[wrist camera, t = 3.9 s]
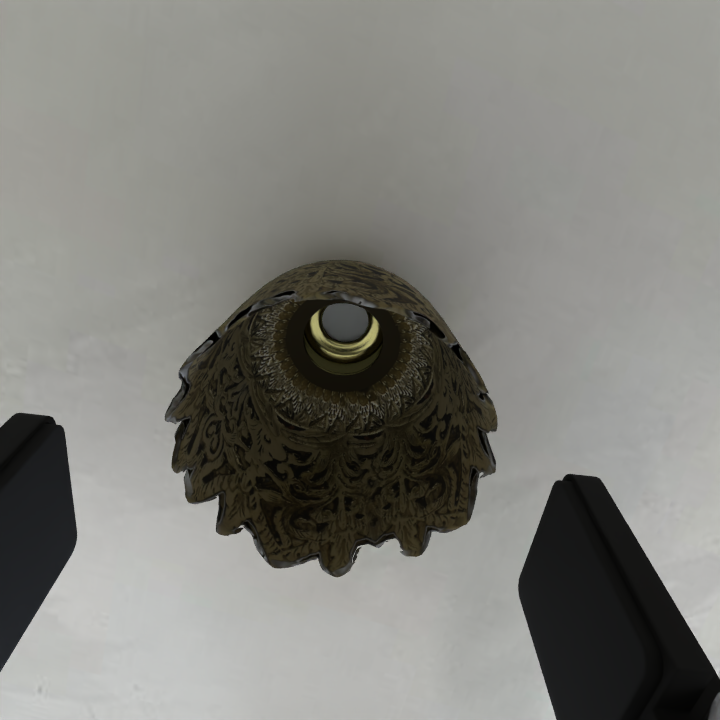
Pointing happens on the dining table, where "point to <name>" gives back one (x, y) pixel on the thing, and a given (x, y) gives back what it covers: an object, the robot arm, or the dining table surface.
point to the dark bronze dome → (333, 420)
